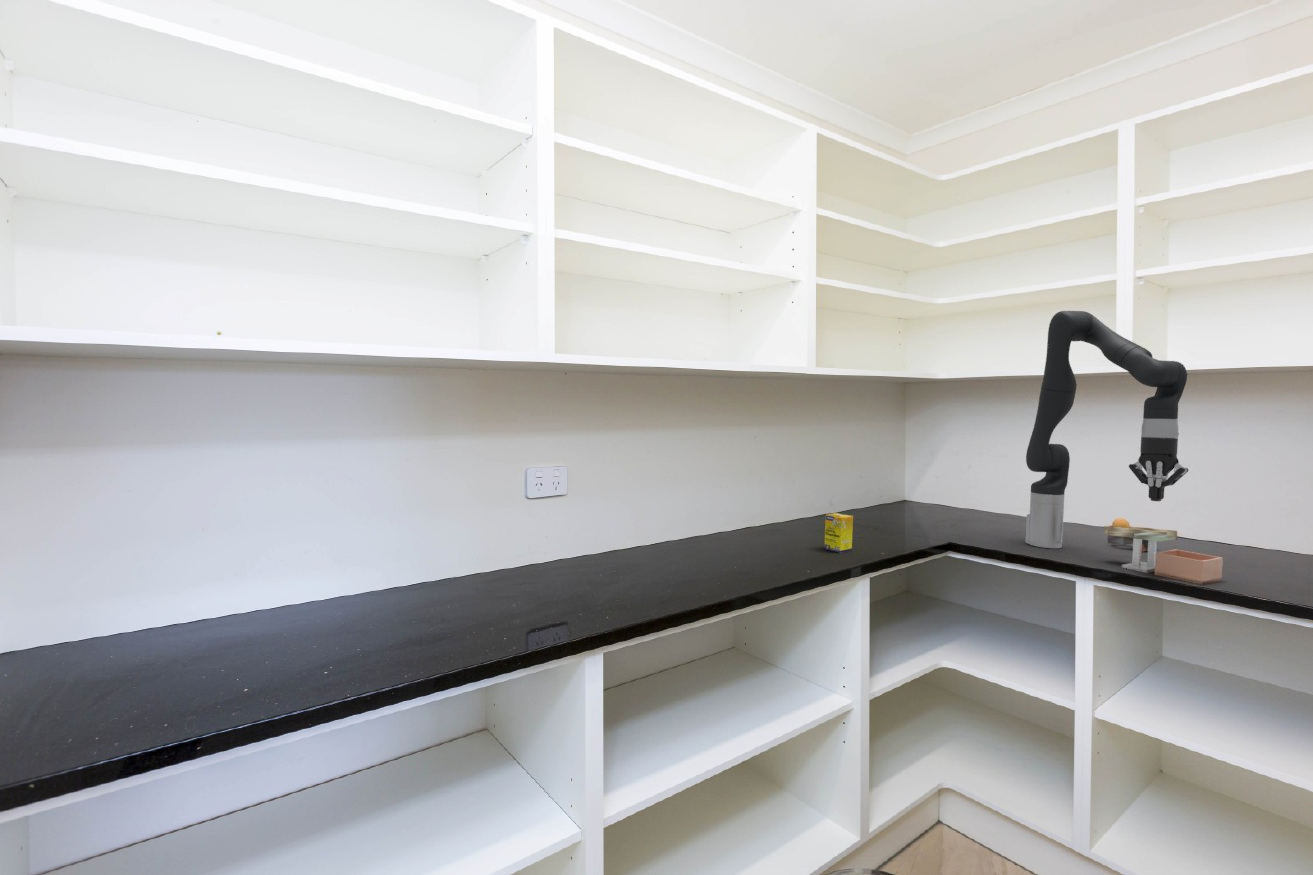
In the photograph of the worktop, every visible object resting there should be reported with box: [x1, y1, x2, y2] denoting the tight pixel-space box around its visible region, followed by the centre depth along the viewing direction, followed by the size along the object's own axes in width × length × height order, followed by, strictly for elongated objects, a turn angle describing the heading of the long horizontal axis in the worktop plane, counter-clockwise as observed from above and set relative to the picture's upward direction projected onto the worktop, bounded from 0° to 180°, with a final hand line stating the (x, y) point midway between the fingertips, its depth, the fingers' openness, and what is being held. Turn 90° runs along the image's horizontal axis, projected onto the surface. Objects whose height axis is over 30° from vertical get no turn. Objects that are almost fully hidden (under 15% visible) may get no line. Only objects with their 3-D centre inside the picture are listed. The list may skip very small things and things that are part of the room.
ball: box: [1111, 517, 1131, 528], centre depth 173 cm, size 4×4×4 cm
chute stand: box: [1121, 533, 1158, 574], centre depth 168 cm, size 6×10×10 cm, turn 116°
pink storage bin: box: [1154, 548, 1224, 586], centre depth 159 cm, size 10×10×6 cm
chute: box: [1103, 524, 1178, 546], centre depth 167 cm, size 17×13×5 cm
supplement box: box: [824, 512, 854, 554], centre depth 185 cm, size 6×6×11 cm
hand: (1156, 500), depth 160 cm, fingers closed
